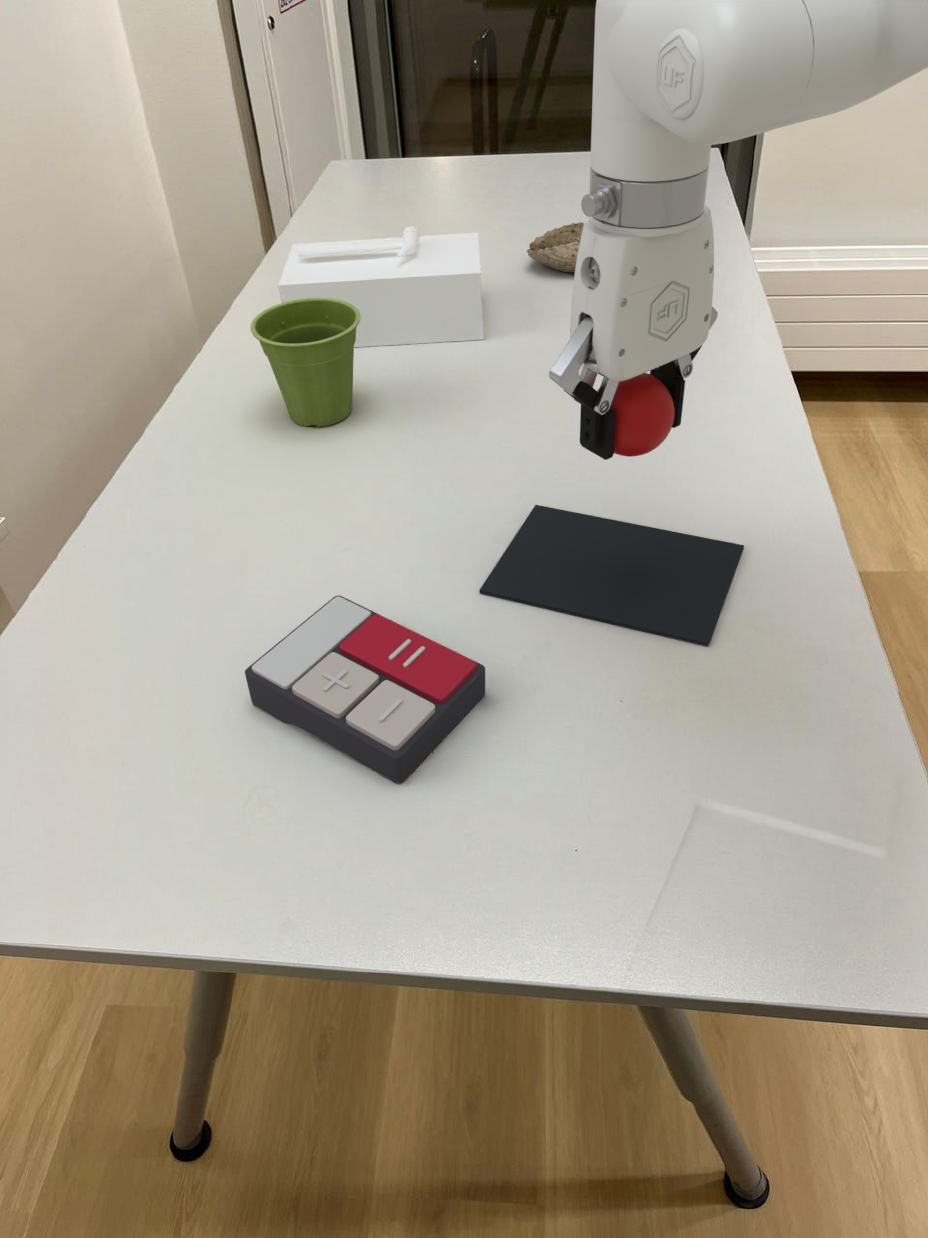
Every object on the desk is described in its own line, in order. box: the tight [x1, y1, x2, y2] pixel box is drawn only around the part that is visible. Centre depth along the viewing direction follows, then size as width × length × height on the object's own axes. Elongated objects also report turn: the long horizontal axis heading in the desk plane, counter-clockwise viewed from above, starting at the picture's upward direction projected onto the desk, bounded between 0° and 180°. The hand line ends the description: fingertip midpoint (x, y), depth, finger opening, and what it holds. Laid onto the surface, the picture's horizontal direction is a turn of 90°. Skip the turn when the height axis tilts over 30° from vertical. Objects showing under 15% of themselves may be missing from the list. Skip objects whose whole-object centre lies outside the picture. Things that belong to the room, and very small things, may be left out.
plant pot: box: [250, 298, 361, 427], centre depth 106 cm, size 12×12×11 cm
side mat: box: [479, 504, 745, 647], centre depth 84 cm, size 20×14×1 cm
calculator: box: [244, 595, 486, 784], centre depth 73 cm, size 11×4×15 cm
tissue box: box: [277, 226, 485, 348], centre depth 124 cm, size 14×25×11 cm, turn 91°
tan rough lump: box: [526, 221, 586, 273], centre depth 138 cm, size 11×7×10 cm
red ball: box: [596, 372, 674, 457], centre depth 73 cm, size 6×6×6 cm
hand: (630, 434), depth 74 cm, fingers closed on red ball, 6 cm apart
